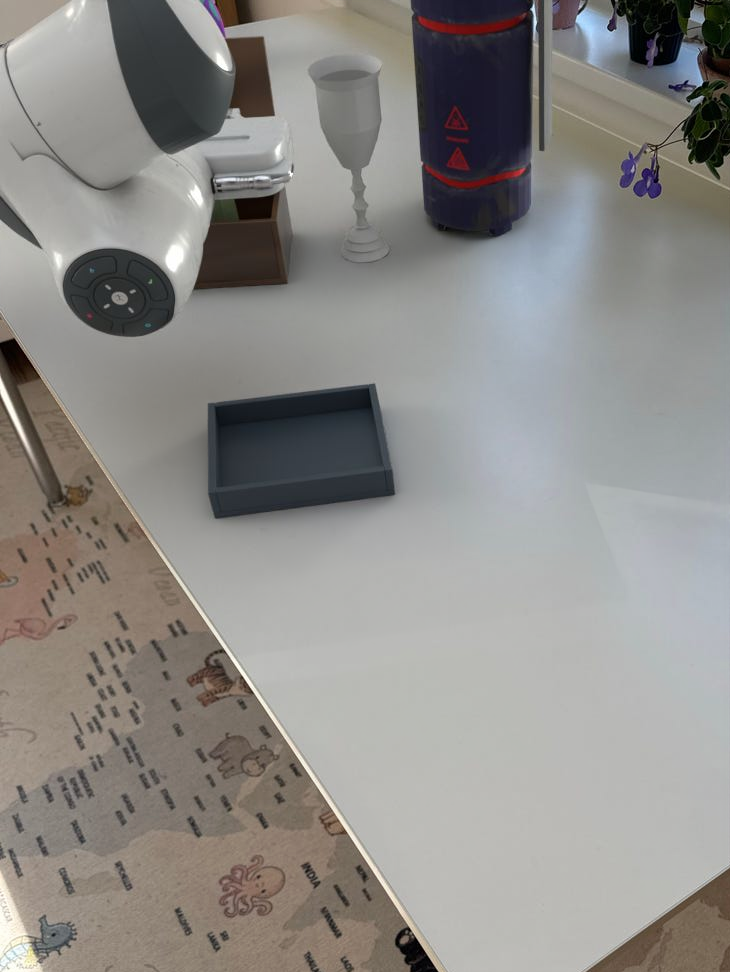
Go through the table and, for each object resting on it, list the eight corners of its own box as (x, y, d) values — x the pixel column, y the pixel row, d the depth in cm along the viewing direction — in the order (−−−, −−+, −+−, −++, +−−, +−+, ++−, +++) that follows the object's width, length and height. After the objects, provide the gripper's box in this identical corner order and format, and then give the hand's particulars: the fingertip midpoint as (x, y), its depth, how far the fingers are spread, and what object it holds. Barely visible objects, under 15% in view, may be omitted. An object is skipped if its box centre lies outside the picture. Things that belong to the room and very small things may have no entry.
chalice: (370, 273, 107) (350, 86, 94) (318, 257, 110) (291, 73, 96) (410, 244, 111) (397, 61, 98) (359, 229, 114) (339, 49, 101)
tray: (214, 518, 81) (207, 493, 79) (213, 427, 89) (207, 403, 87) (395, 494, 83) (392, 469, 81) (377, 407, 91) (375, 382, 89)
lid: (263, 36, 101) (264, 35, 102) (136, 42, 101) (138, 41, 101) (281, 168, 108) (282, 167, 109) (163, 175, 108) (165, 173, 108)
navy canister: (409, 234, 113) (385, -98, 91) (442, 187, 120) (426, -129, 98) (534, 248, 110) (539, -91, 88) (558, 199, 118) (569, -124, 96)
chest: (287, 283, 106) (276, 220, 101) (166, 290, 106) (150, 227, 101) (292, 232, 114) (282, 171, 109) (180, 239, 113) (165, 178, 108)
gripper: (284, 141, 76) (294, 73, 86) (3, 157, 76) (43, 88, 85) (298, 224, 81) (305, 152, 90) (33, 241, 80) (68, 166, 90)
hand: (176, 121), depth 88 cm, fingers open, 8 cm apart
